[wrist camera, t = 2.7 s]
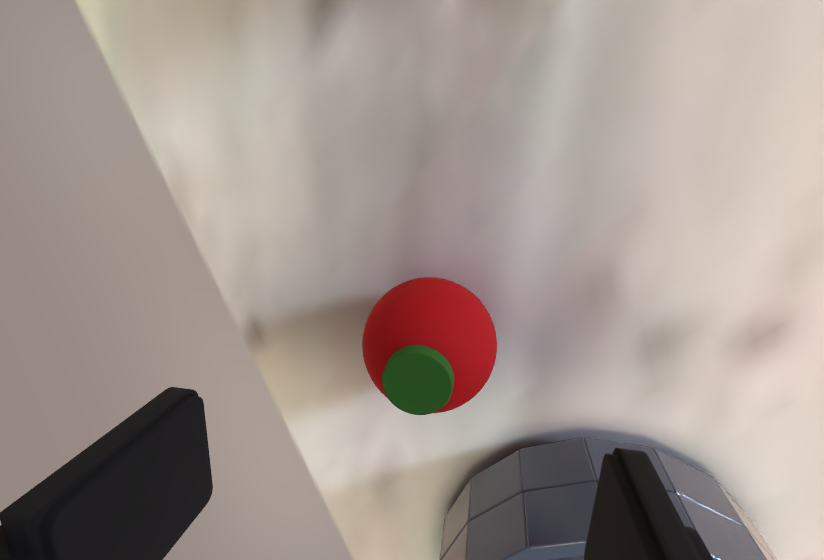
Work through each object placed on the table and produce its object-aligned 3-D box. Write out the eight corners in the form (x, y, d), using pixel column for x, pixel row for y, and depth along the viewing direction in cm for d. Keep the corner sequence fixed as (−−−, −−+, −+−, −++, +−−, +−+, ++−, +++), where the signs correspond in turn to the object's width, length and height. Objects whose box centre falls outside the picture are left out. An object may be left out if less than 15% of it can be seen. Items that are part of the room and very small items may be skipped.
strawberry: (381, 257, 16) (339, 303, 12) (501, 267, 16) (505, 320, 11) (379, 362, 18) (341, 439, 13) (490, 376, 17) (489, 462, 12)
